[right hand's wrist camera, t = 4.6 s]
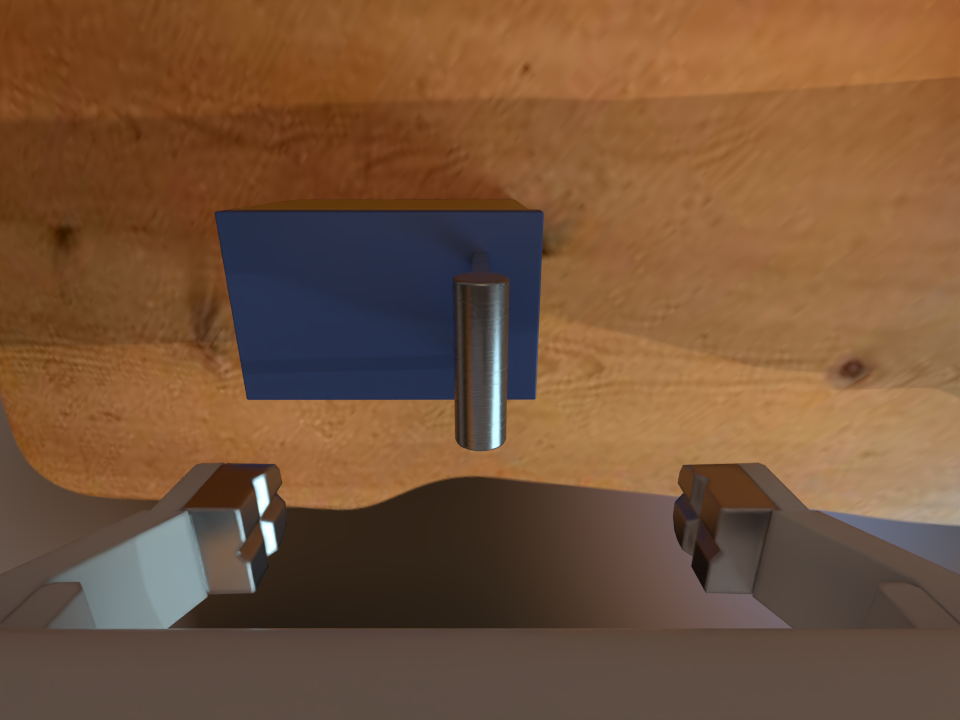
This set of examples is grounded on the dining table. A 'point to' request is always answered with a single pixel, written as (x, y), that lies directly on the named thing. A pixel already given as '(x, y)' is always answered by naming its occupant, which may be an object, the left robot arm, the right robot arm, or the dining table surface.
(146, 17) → the dining table surface
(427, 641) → the right robot arm
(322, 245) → the lid
